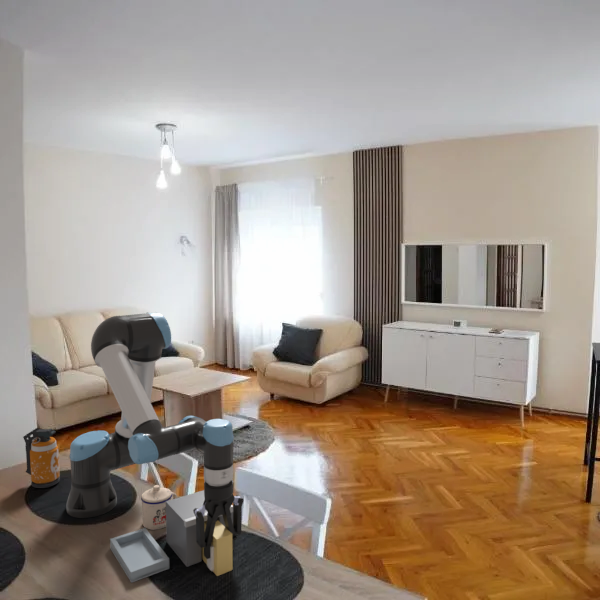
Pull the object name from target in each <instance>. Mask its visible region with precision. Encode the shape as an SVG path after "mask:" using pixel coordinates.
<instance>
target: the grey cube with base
mask: <svg viewBox="0 0 600 600" xmlns="http://www.w3.org/2000/svg"><path fill="white" fill-rule="evenodd" d="M204 500H205V497H204V489H203V490H200V491H197V492H193V493H189V494H186V495H183V496H180V497H177V498H176V499H172V498H171V500H169V501H166V527H165V529H166V530H165V531H166V532H165V533H166V535H165V536H166V543H167V545H168V546H169V547H170V548H171V549H172V551H174V553H175V554H176V556H177V557H178V558H179V559H180V560H181V562H182V563H183V564H184V565H185V567H191V566H192V565H195V564H199V563H201V562H202V555H201V547H200V546H199V545H198V544H197V542H196V516H195V514H194V511H193V510H194V509H195V508H197V509H199V508H200V507H201V506H203V503H204ZM230 512H231V519H232V523H233V504H232V505H231V507H230ZM204 513H205V514H204V515H205V516H204V521H207V513H208V512H207V510H205V512H204ZM217 520H218V521H219V522H220V523H221V524H222V525H224V526H225V523H224V519H223V515H220V516H219V517H218V519H217ZM232 550H234V549H232Z"/></svg>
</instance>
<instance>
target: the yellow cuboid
mask: <svg viewBox="0 0 600 600" xmlns="http://www.w3.org/2000/svg"><path fill="white" fill-rule="evenodd" d="M206 523H207V521H204V531H205V529H206ZM212 545H213V546H214V571H212V572H213V573H214V574H215V576H216V577H219V576H220V575H224V574H226V573H228V572H231V571H232V570H233V568H234V567H233V565H234V563H233V561H234V560H233V550H234V549H233V550H232V533H231V532H230V531H229V530H228V529H227V528H226V527H225V526H224V525H222V524H221V523H220V522H219V521H218V520H217V522H216V524H215V529H214V534H213V539H212ZM201 555H202V560H203V563H205V564H206V565H207V559H206V557H205V556H204V547H203V548H201Z"/></svg>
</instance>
